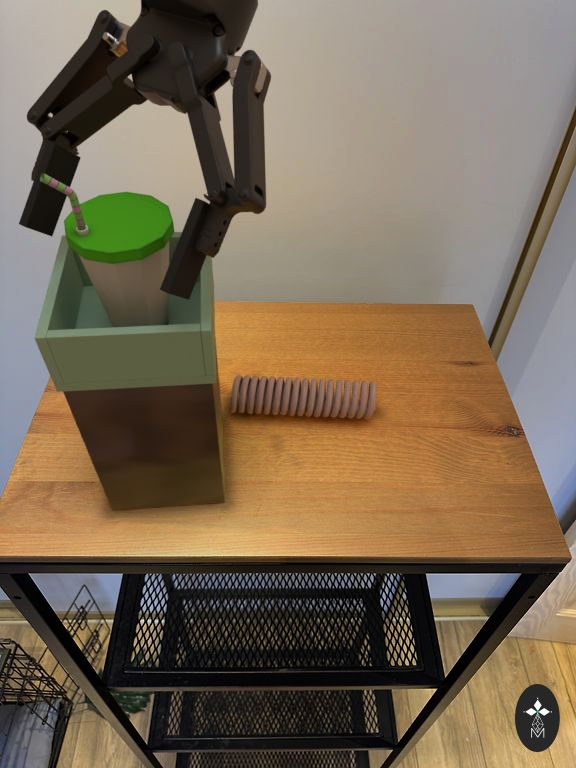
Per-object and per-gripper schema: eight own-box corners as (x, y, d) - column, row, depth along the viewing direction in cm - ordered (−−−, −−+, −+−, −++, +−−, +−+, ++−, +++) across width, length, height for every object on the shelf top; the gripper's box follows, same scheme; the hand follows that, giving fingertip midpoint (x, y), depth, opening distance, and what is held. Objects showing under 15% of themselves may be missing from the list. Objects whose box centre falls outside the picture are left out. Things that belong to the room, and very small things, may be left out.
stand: (222, 415, 70) (210, 286, 55) (225, 502, 62) (212, 381, 47) (121, 421, 69) (81, 291, 53) (111, 510, 61) (61, 389, 46)
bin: (213, 284, 55) (209, 230, 50) (216, 383, 47) (211, 330, 42) (78, 289, 54) (61, 235, 49) (56, 392, 45) (34, 338, 41)
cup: (192, 295, 52) (172, 133, 41) (181, 358, 47) (154, 192, 36) (105, 293, 52) (61, 129, 41) (85, 355, 47) (28, 188, 35)
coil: (379, 373, 69) (230, 366, 69) (382, 400, 66) (226, 392, 66) (374, 400, 72) (231, 393, 72) (377, 427, 69) (227, 420, 69)
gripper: (386, 41, 39) (264, 331, 41) (109, -26, 47) (22, 220, 49) (361, -37, 32) (215, 319, 34) (39, -101, 40) (-57, 191, 42)
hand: (101, 261), depth 42 cm, fingers open, 13 cm apart
